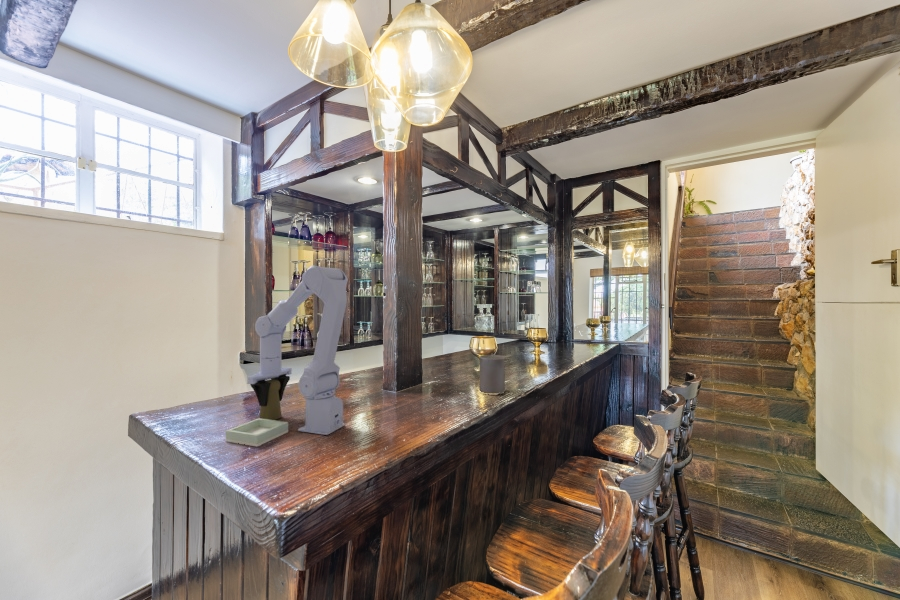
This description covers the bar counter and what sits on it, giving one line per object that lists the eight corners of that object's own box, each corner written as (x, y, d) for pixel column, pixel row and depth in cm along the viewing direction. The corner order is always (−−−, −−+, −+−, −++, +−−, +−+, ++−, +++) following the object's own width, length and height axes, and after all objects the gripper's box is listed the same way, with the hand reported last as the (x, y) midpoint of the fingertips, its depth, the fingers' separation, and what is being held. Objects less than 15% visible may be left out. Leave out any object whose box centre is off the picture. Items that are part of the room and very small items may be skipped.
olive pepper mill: (275, 421, 102) (275, 382, 102) (254, 420, 102) (254, 382, 102) (285, 414, 108) (285, 378, 108) (265, 414, 108) (266, 377, 108)
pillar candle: (479, 388, 141) (479, 351, 141) (504, 389, 140) (504, 351, 140) (479, 395, 132) (479, 355, 132) (505, 396, 131) (505, 355, 131)
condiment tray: (288, 432, 94) (288, 422, 94) (257, 446, 85) (257, 435, 85) (258, 427, 98) (258, 418, 98) (225, 441, 88) (225, 430, 88)
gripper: (278, 353, 113) (278, 395, 113) (238, 360, 100) (238, 408, 100) (296, 354, 111) (296, 397, 111) (258, 361, 97) (258, 411, 97)
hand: (270, 403), depth 105 cm, fingers closed on olive pepper mill, 5 cm apart
